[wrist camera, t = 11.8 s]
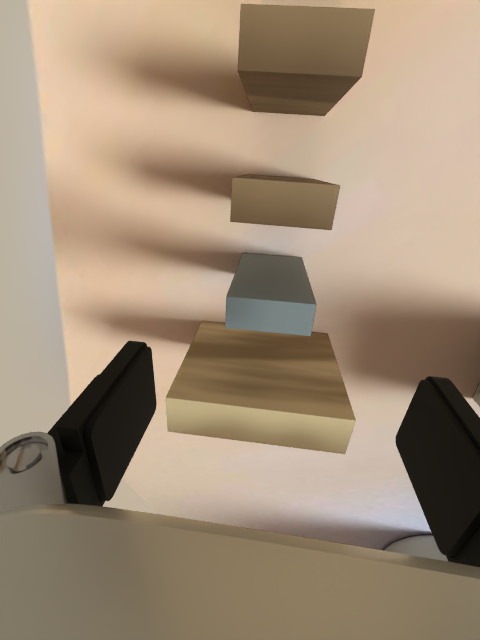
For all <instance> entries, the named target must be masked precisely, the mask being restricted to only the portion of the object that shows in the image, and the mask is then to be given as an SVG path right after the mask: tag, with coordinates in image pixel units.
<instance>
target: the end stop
mask: <svg viewBox="0 0 480 640" xmlns="http://www.w3.org/2000/svg"><path fill="white" fill-rule="evenodd" d="M166 410H167V427H168V431H169V432H176V433H184V434H192V435H200V436H208V437H215V438H223V439H231V440H239V441H247V442H255V443H262V444H270V445H278V446H286V447H294V448H301V449H309V450H317V451H325V452H333V453H340V454H345V453H346V450H347V447H348V443H349V440H350V437H351V434H352V431H353V428H354V425H355V422H356V420H355V417H354V413H353V410H352V407H351V404H350V401H349V398H348V395H347V392H346V389H345V386H344V383H343V380H342V376H341V373H340V370H339V367H338V364H337V361H336V358H335V355H334V352H333V349H332V346H331V343H330V339H329V336H328V334H323V333H313V332H311V336H304V335H293V334H283V333H272V332H262V331H251V330H241V329H230V328H225V323H218V322H208V321H202V322H201V324H200V326H199V329H198V331H197V333H196V335H195V337H194V339H193V341H192V343H191V345H190V348H189V350H188V352H187V354H186V356H185V358H184V360H183V362H182V364H181V366H180V369H179V371H178V373H177V375H176V377H175V379H174V381H173V383H172V385H171V388H170V390H169V392H168V394H167V396H166Z"/></svg>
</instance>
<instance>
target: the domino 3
mask: <svg viewBox="0 0 480 640" xmlns="http://www.w3.org/2000/svg"><path fill="white" fill-rule="evenodd" d="M315 310H316V302H315V298H314V295H313V292H312V289H311V285H310V282H309V279H308V276H307V273H306V269H305V266H304V263H303V260H302V257H290V256H277V255H264V254H251V253H243V254H242V257H241V259H240V262H239V265H238V267H237V270H236V273H235V275H234V278H233V280H232V283H231V286H230V288H229V291H228V294H227V296H226V322H225V328H230V329H241V330H251V331H262V332H272V333H283V334H293V335H304V336H311V332H312V326H313V321H314V315H315Z"/></svg>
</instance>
